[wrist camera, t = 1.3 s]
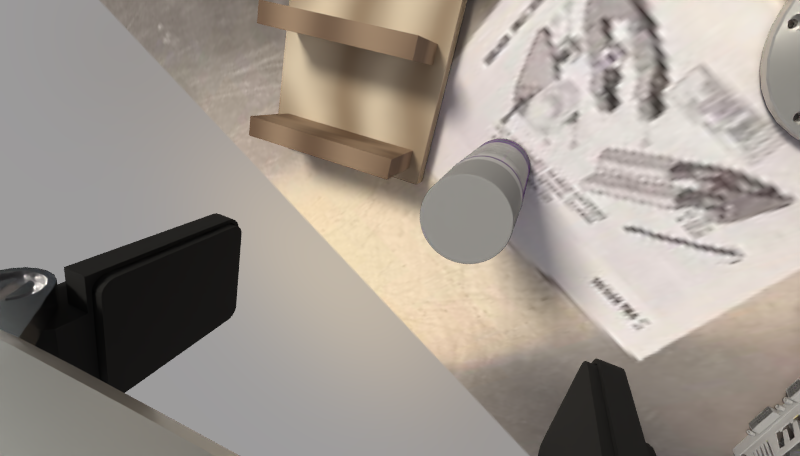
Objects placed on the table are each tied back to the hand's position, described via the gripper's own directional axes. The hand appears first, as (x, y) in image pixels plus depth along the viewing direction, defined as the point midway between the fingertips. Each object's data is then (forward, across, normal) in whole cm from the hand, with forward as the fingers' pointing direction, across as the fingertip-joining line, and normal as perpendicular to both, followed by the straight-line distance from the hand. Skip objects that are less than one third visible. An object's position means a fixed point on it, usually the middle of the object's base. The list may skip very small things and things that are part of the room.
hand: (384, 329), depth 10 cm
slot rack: (+25, +13, -7) cm, 29 cm away
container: (+25, 0, 0) cm, 25 cm away
